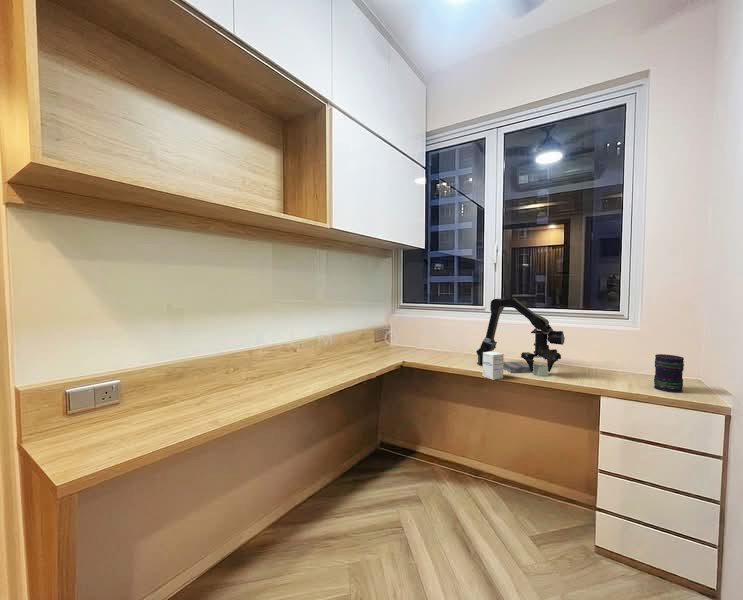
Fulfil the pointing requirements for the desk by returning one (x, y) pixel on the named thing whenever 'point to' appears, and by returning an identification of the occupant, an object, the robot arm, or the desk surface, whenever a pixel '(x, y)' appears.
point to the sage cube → (540, 370)
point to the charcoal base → (516, 367)
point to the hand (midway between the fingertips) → (540, 371)
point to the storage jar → (668, 373)
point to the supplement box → (493, 365)
